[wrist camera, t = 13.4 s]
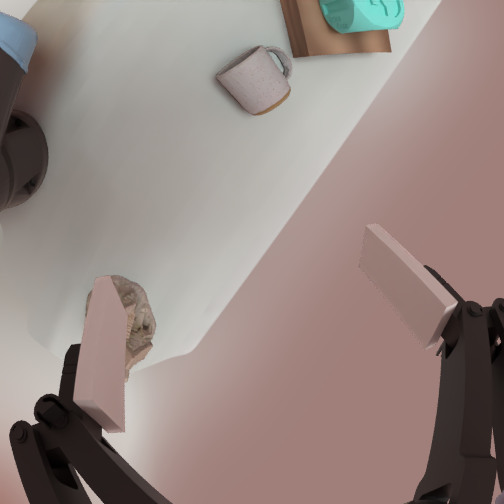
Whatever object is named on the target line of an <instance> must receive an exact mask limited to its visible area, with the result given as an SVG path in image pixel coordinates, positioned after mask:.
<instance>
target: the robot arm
mask: <svg viewBox="0 0 504 504" xmlns="http://www.w3.org/2000/svg"><path fill="white" fill-rule="evenodd" d="M37 40H38V37H37V33H36V31H35V29H34V28H33V27H32V26H30V25H29V24H27V23H25V22H23V21H21V20H19V19H17V18H15V17H12V16H10V15H7V14H5V13H2V12H0V212H1V211H2V210H4V209H7V208H10V207H14V206H17V205H19V204H21V203H23V202H25V201H26V200H27V199H28V198H30V197H31V195H32V194H33V193H34V192H35V191H36V190H37V189H38V188H39V186H40V185H41V183H42V181H43V179H44V176H45V173H46V169H47V164H48V149H47V143H46V139H45V136H44V134H43V132H42V130H41V128H40V126H39V125H38V123H37V122H36V121H35V120H34V119H33V118H32V117H31V116H29V115H28V114H26V113H24V112H21V111H17V110H12V108H13V105H14V102H15V99H16V96H17V93H18V91H19V88H20V85H21V82H22V80H23V77H24V75H26V74H27V72H28V65H29V62H30V59H31V57H32V54H33V52H34V50H35V47H36V45H37ZM359 268H360V269H361V270H362V271H363V272H364V273H365V275H366V276H367V277H368V278H369V279H370V281H371V282H372V283H373V284H374V286H375V287H376V288H377V289H378V290H379V292H380V293H381V294H382V295H383V297H384V298H385V299H386V300H387V301H388V303H389V304H390V305H391V307H392V308H393V309H394V310H395V312H396V313H397V314H398V315H399V317H400V318H401V319H402V321H403V322H404V323H405V325H406V326H407V327H408V328H409V330H410V331H411V332H412V334H413V335H414V336H415V338H416V339H417V340H418V342H419V343H420V344H421V346H422V347H423V348H424V350H426V349H428V348H430V347H432V346H434V345H436V343H437V342H438V340H439V338H440V336H442V338H443V339H444V341H443V343H442V345H441V346H440V348H439V350H438V351H437V354H436V356H438V355H439V354H440V352H441V351H442V355H441V357H442V359H441V376H440V388H439V398H438V407H437V415H436V422H435V428H434V434H433V440H432V446H431V450H430V455H429V460H428V465H427V469H426V472H425V475H424V477H423V478H422V480H421V481H420V483H419V485H418V487H417V489H416V492H415V495H414V499H413V501H410V502H407V503H405V504H447V501H448V500H449V498H450V501H449V504H491V501H492V496H493V491H494V485H495V479H496V472H497V473H498V480H499V484H500V489H501V492H502V494H501V495H499V496H498V497H497V498H496V501H495V504H504V299H503V298H497V299H496V300H495V301H494V302H493V304H492V306H491V307H482V306H481V305H479V304H478V303H476V302H473V301H467V302H465V301H464V300H463V299H462V298H461V297H460V295H459V294H458V293H457V292H456V291H455V290H454V289H453V288H452V287H451V286H450V285H449V284H448V283H446V281H445V280H444V279H443V278H441V276H440V275H439V274H438V273H437V272H436V271H435V270H433V269H432V268H430V267H428V266H426V265H425V266H422V265H421V264H420V263H419V262H418V261H417V260H416V259H415V258H414V257H413V256H412V255H411V254H410V253H409V252H408V251H407V250H406V249H405V248H404V247H402V246H401V245H400V244H399V243H398V242H397V241H396V240H395V239H394V238H393V237H391V236H390V235H389V234H388V233H387V232H386V231H385V230H384V229H383V228H382V227H380V226H379V225H378V224H370V225H366V226H365V233H364V239H363V245H362V251H361V257H360V262H359ZM127 320H128V315H127V313H126V311H125V309H124V307H123V304H122V302H121V300H120V298H119V296H118V293H117V291H116V289H115V286H114V284H113V282H112V279H111V277H110V275H108V276H103V277H98V278H96V279H95V283H94V287H93V291H92V295H91V299H90V303H89V307H88V312H87V316H86V321H85V326H84V331H83V336H82V342H81V344H74V345H71V346H70V348H69V349H68V351H67V353H66V355H65V360H64V367H63V370H62V376H61V383H60V390H59V396H56V395H54V394H46V395H44V396H42V397H41V398H40V399H39V400H38V401H37V402H36V405H35V407H34V416H35V419H36V420H37V421H38V422H39V423H37V424H35V425H32V426H31V425H30V424H29V423H27V422H26V421H22V420H21V421H17V422H16V423H15V424H13V426H12V428H11V429H10V434H9V438H10V443H11V447H12V451H13V455H14V459H15V462H16V465H17V468H18V472H19V475H20V478H21V481H22V484H23V487H24V490H25V492H26V495H27V498H28V500H29V503H30V504H92V502H91V501H90V499H89V497H88V495H87V493H86V491H85V490H84V487H83V485H82V483H81V482H80V479H79V477H78V476H77V473H76V471H75V469H76V470H77V472H78V473H79V474H80V475H81V477H82V478H83V479H84V481H85V482H86V483H87V484H88V485H89V487H90V488H91V489H92V490H93V491H94V493H95V494H96V495H97V496H98V497H99V498H100V499H101V501H102V502H103V503H104V504H172V503H171V502H170V501H169V500H167V499H166V498H165V497H164V496H163V495H161V494H160V493H159V492H158V491H157V490H156V489H155V488H153V487H152V486H151V485H150V484H149V483H148V482H147V481H146V480H145V479H143V478H142V477H141V476H140V475H139V474H138V473H137V472H136V471H135V470H134V469H133V468H132V467H131V466H130V465H129V464H128V463H127V462H126V461H125V460H124V459H123V458H122V457H121V456H120V455H119V454H118V452H116V451H115V449H114V448H113V447H112V446H111V445H110V444H109V443H108V442H107V440H106V439H105V438H104V437H102V428H103V429H104V430H105V431H107V432H108V433H117V432H125V415H124V414H125V411H124V383H125V351H126V334H127ZM499 337H500V340H501V343H500V344H499V345H498V343H497V340H498V338H499ZM492 428H493V435H494V443H495V452H496V459H495V458H494V457H492V456H491V454H490V448H491V435H492ZM74 468H75V469H74Z"/></svg>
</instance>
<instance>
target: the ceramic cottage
mask: <svg viewBox="0 0 504 504" xmlns="http://www.w3.org/2000/svg"><path fill="white" fill-rule="evenodd" d="M111 279H112V282H113V284H114V286H115V289H116V291H117V293H118V296H119V298H120V300H121V302H122V304H123V307H124V309H125V311H126V313H127V315H128V320H127V334H126V351H125V382H127V381H128V378H129V369H131V368H132V367H133V365H135V364H137V363H138V362H139V361H141V360H143V359H144V358H145V356H146V355H147V353H148V351H149V350H150V349H151V348H152V347H153V344H152V343H151V342H150V341H151V340H152V338H153V335H154V332H155V328H156V323H155V319H154V317H153V314H152V311H151V308H150V305H149V302H148V299H147V295H146V292H145V291H144V289H143V288H142V287H141V286H140V285H138V284H137V283H135V282H134V283H133V282H130V281H129V280H127V279H125V278H123V277H121V276H111ZM92 291H93V290H92ZM92 291H91V292H90V294H89V296H88V300H87V305H86V316H87V312H88V307H89V303H90V299H91V295H92Z"/></svg>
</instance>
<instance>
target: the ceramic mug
mask: <svg viewBox="0 0 504 504" xmlns="http://www.w3.org/2000/svg"><path fill="white" fill-rule="evenodd" d="M267 51H272V52H274V53H275V54H277V56H278V57H279V59H280V60H281V62H282V63H283V66H284V68H285V72H284V75H283V74H282V72H281V71H280V70H279V68H278V67H277V65H276V64H275V62H274V61H273V59H272V58H271V57H270V55H269V54H268V52H267ZM291 74H292V64H291V61H290V59H289V57H288V55H287V54H286V53H285V52H284V51H283V50H282V49H280V48H277V47H268V48H264V47H263V46H262V45H260V46H257V47H255V48H253V49H251V50H249V51H247V52H245V53H244V54H242V55H241V56H239V57H238V58H236V59H235V60H233V61H232V62H231V63H229V64H228V65H227V66H225V67H224V68H223V69H222V70H221V71H220V72H219V73H218V74H217V76H216V77H217V79H218V80H219V81H220V82H221V83H222V84H223V85H224V87H225V88H226V89H227V90H228V91H229V92H230V93H231V94H232V95H233V96H234V97H235V99H236V100H237V101H238V102H239V103H240V104H241V105H242V107H243V108H244V109H245V110H247V111H248V112H249V113H250V114H252V115H262V114H265V113H267V112H269V111H271V110H273V109H274V108H276V107H277V106H279V105H280V104H281V103H282V102H283V101H284V100H286V99H287V97H288V96H289V94H290V91H291V90H290V86H289V83H288V81H287V80H288V79H289V78H290V76H291Z"/></svg>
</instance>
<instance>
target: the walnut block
mask: <svg viewBox="0 0 504 504" xmlns="http://www.w3.org/2000/svg"><path fill="white" fill-rule="evenodd" d="M280 3H281V6H282V10H283V14H284V18H285V23H286V27H287V31H288V35H289V40H290V44H291V49H292V53H293V58H296V57H306V56H316V55H326V54H340V53H362V52H391V46H390V40H389V34H388V29H386V30H372V31H361V32H352V33H343V34H341V33H340V32H338V31H336V30H335V29H334V28H333V27H332V26H331V25H330V24H329V23H328V22H327V20H326V19H325V17H324V15H323V13H322V10H321V7H320V3H319V0H280Z"/></svg>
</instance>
